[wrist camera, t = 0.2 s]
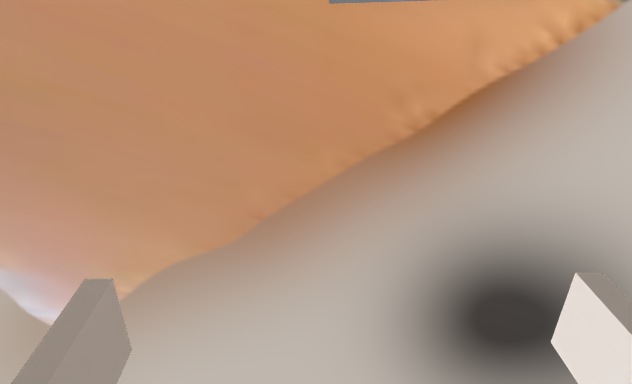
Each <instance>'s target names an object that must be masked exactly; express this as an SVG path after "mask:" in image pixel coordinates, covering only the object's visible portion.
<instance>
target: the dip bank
mask: <svg viewBox="0 0 632 384" xmlns="http://www.w3.org/2000/svg"><path fill="white" fill-rule="evenodd" d="M394 1H426V0H329V3H330V4H331V3H363V2H394Z"/></svg>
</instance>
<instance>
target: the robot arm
mask: <svg viewBox="0 0 632 384" xmlns="http://www.w3.org/2000/svg"><path fill="white" fill-rule="evenodd" d="M551 343H552V345H553V346H554V348H555V349H556V351H557V352H558V354H559V355H560V357H561V358H562V360H563V361H564V363H565V364H566V366H567V367H568V369H569V370H570V372H571V373H572V375H573V376H574V378H575V379H576V381H577V382H578V384H632V302H631V301H630V300H629V299H628V298H627V297H626V296H625V295H624V294H623V293H622V292H621V291H620V290H619V289H618V288H617V287H616V286H615V285H614V284H613V283H612V282H611V281H610V280H609V279H608V278H607V277H606V276H605V275H604V274H603V273H602V272H583V273H575V276H574V278H573V282H572V284H571V287H570V290H569V293H568V295H567V298H566V301H565V304H564V307H563V309H562V312H561V315H560V318H559V321H558V324H557V326H556V329H555V332H554V335H553V338H552V340H551ZM131 350H132V348H131V345H130V341H129V338H128V333H127V330H126V326H125V322H124V319H123V315H122V311H121V307H120V304H119V300H118V296H117V293H116V289H115V285H114V282H113V279H85V280H84V281H83V282H82V284H81V285H80V287H79V288H78V290H77V291H76V292H75V294H74V295H73V297H72V298H71V300H70V301H69V302H68V304H67V305H66V307H65V308H64V309H63V311H62V312H61V314H60V315H59V317H58V318H57V319H56V321H55V322H54V324H53V325H52V326H51V328H50V329H49V331H48V332H47V334H46V335H45V336H44V338H43V339H42V341H41V342H40V344H39V345H38V346H37V348H36V349H35V351H34V352H33V354H32V355H31V356H30V358H29V359H28V361H27V362H26V363H25V365H24V366H23V368H22V369H21V370H20V372H19V373H18V375H17V376H16V378H15V379H14V380H13V382H12V383H11V384H117V381H118V379H119V377H120V375H121V373H122V370H123V368H124V366H125V363H126V361H127V359H128V357H129V355H130V353H131Z"/></svg>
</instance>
